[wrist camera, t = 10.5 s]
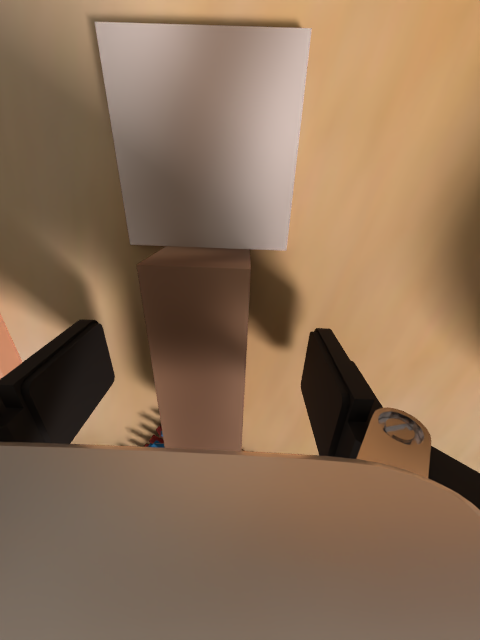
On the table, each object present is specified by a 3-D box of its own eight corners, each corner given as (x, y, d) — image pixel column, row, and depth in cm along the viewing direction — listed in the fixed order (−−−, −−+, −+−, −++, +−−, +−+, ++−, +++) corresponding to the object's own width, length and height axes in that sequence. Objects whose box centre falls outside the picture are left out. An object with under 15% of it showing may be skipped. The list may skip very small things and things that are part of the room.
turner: (307, 40, 7) (351, -74, 4) (266, 410, 14) (272, 471, 11) (105, 34, 7) (2, -84, 4) (160, 405, 14) (136, 465, 11)
